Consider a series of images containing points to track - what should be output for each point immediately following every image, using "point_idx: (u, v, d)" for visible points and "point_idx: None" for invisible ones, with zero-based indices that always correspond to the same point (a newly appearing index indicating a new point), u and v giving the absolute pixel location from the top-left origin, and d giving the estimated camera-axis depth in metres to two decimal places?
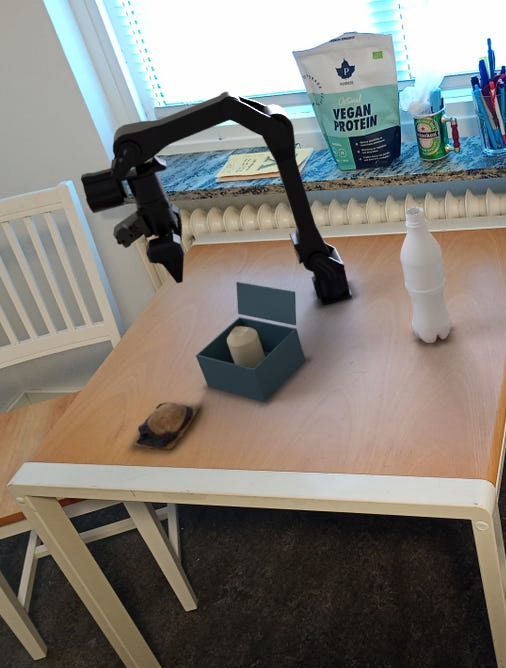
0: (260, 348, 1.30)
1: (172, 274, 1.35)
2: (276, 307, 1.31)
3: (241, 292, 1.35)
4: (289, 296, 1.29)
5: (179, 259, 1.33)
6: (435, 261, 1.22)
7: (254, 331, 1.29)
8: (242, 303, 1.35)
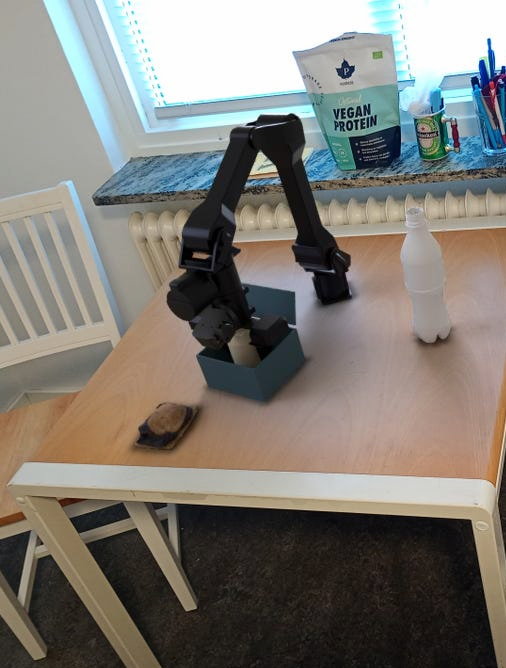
0: None
1: None
2: (276, 307, 1.31)
3: None
4: (289, 296, 1.29)
5: None
6: (435, 261, 1.22)
7: None
8: None
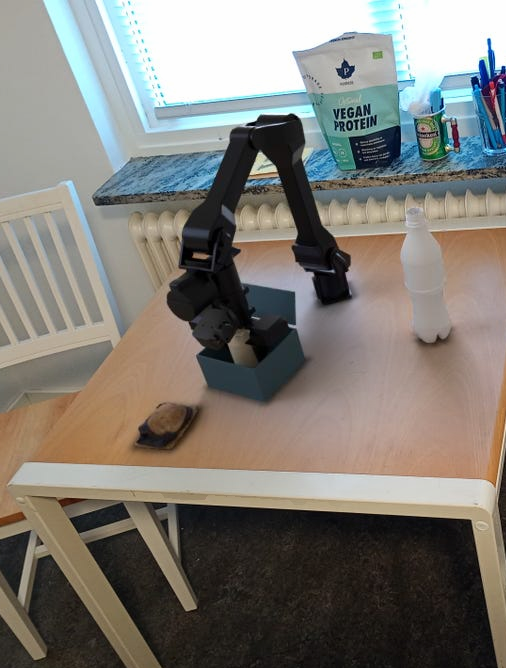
0: None
1: (261, 356, 1.28)
2: (276, 307, 1.31)
3: None
4: (289, 296, 1.29)
5: None
6: (435, 261, 1.22)
7: None
8: None
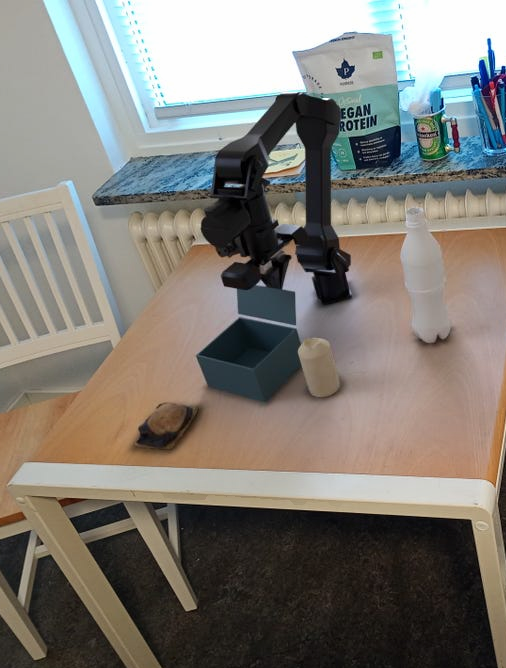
0: (332, 360, 1.23)
1: None
2: (276, 307, 1.31)
3: (241, 292, 1.35)
4: (289, 296, 1.29)
5: (271, 277, 1.29)
6: (435, 261, 1.22)
7: (327, 342, 1.22)
8: (242, 303, 1.35)
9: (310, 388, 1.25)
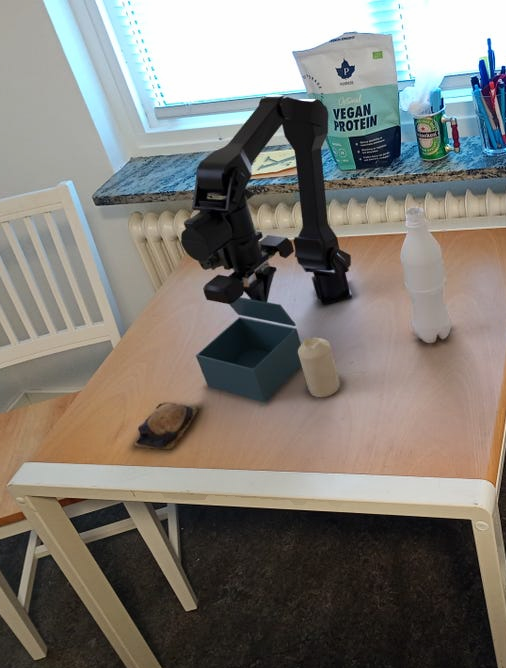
0: (332, 360, 1.23)
1: None
2: (270, 314, 1.30)
3: None
4: (277, 308, 1.26)
5: (255, 290, 1.27)
6: (435, 261, 1.22)
7: (327, 342, 1.22)
8: (237, 309, 1.34)
9: (310, 388, 1.25)
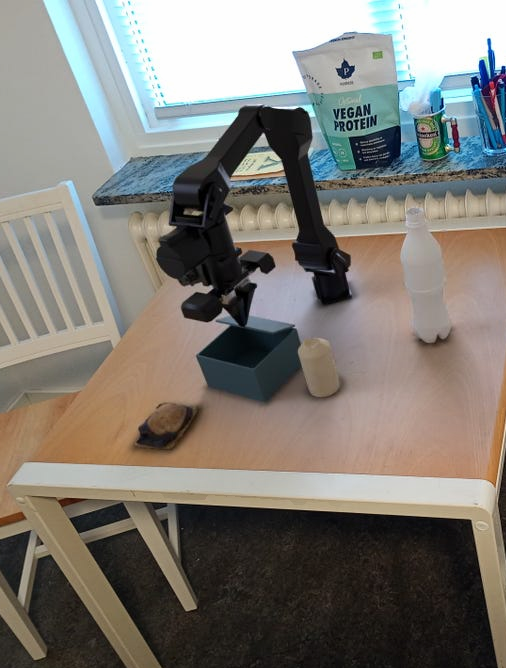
0: (332, 360, 1.23)
1: (233, 317, 1.27)
2: None
3: None
4: None
5: (235, 307, 1.23)
6: (435, 261, 1.22)
7: (327, 342, 1.22)
8: None
9: (310, 388, 1.25)
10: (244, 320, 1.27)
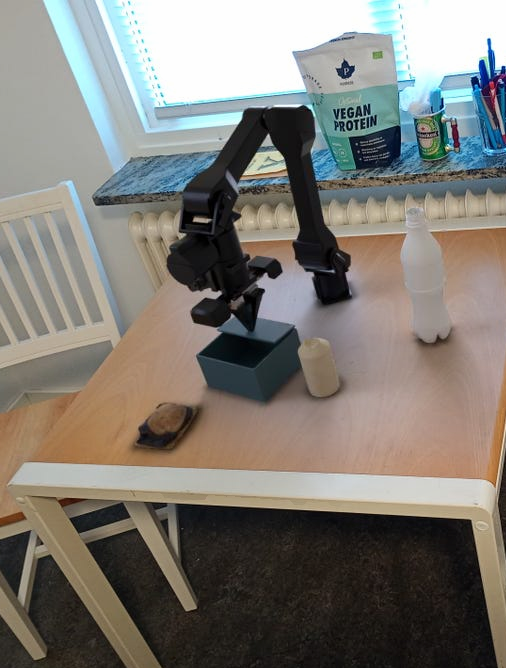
0: (332, 360, 1.23)
1: (241, 322, 1.29)
2: None
3: None
4: None
5: (243, 313, 1.25)
6: (435, 261, 1.22)
7: (327, 342, 1.22)
8: None
9: (310, 388, 1.25)
10: (252, 325, 1.29)
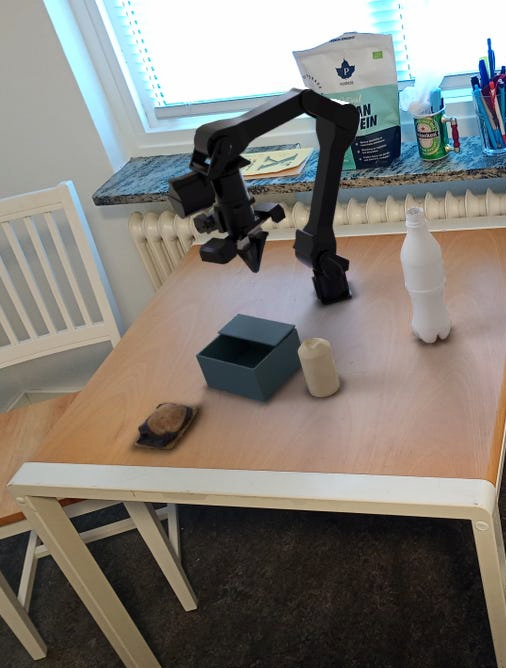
0: (332, 360, 1.23)
1: (246, 263, 1.36)
2: None
3: None
4: None
5: (248, 253, 1.33)
6: (435, 261, 1.22)
7: (327, 342, 1.22)
8: None
9: (310, 388, 1.25)
10: (257, 266, 1.36)
